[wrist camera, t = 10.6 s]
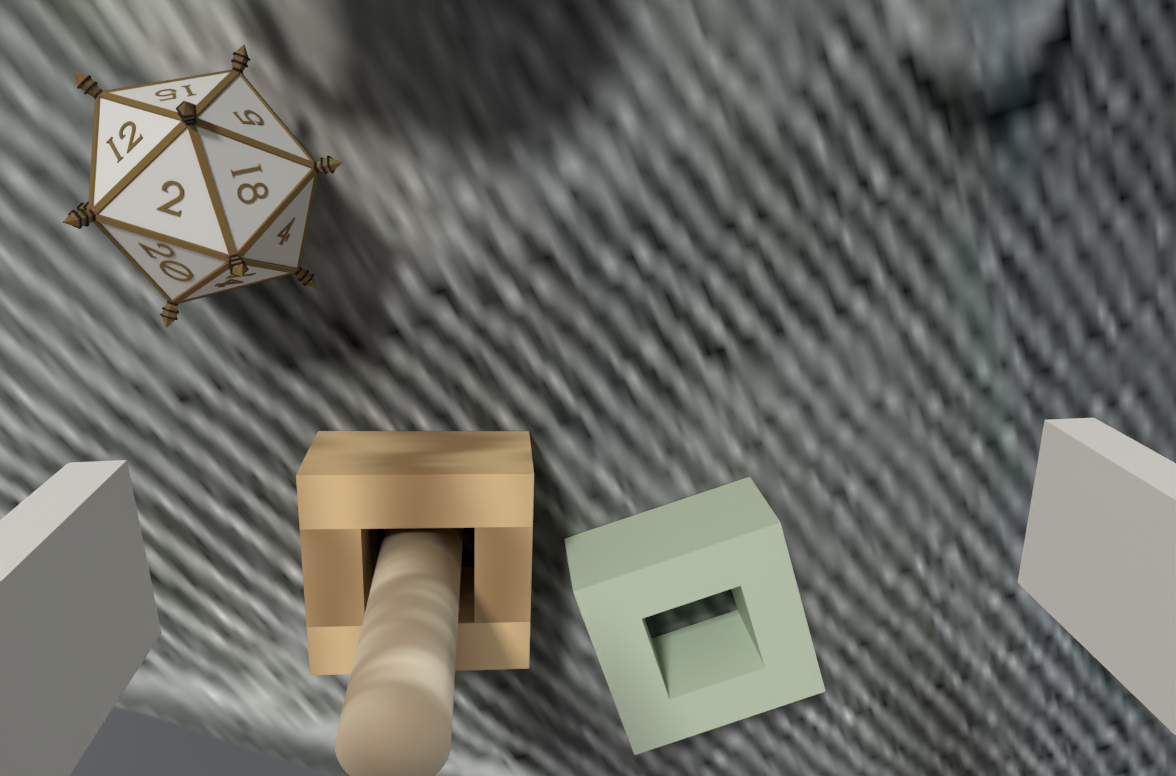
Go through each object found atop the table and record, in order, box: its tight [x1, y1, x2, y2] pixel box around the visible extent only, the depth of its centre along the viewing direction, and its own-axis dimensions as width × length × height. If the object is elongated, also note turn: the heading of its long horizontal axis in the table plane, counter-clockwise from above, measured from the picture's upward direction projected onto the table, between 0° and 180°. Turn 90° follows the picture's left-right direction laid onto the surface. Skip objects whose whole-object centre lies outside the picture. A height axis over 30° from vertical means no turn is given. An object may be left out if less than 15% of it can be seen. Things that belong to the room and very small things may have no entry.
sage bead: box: [564, 477, 825, 755], centre depth 40 cm, size 9×9×4 cm
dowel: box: [335, 528, 463, 776], centre depth 33 cm, size 3×3×14 cm
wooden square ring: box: [296, 431, 534, 675], centre depth 37 cm, size 9×9×4 cm
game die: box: [62, 45, 342, 328], centre depth 30 cm, size 9×8×10 cm
